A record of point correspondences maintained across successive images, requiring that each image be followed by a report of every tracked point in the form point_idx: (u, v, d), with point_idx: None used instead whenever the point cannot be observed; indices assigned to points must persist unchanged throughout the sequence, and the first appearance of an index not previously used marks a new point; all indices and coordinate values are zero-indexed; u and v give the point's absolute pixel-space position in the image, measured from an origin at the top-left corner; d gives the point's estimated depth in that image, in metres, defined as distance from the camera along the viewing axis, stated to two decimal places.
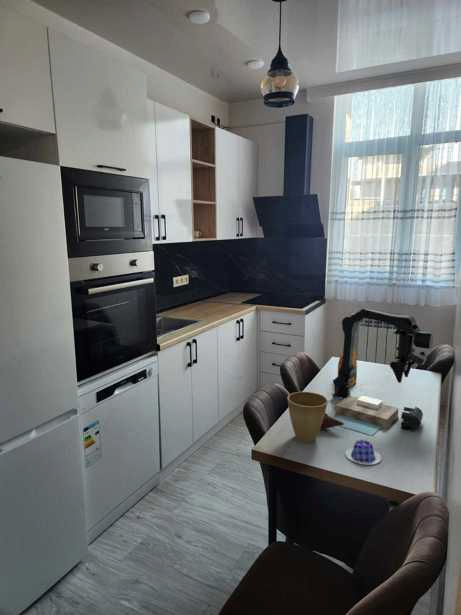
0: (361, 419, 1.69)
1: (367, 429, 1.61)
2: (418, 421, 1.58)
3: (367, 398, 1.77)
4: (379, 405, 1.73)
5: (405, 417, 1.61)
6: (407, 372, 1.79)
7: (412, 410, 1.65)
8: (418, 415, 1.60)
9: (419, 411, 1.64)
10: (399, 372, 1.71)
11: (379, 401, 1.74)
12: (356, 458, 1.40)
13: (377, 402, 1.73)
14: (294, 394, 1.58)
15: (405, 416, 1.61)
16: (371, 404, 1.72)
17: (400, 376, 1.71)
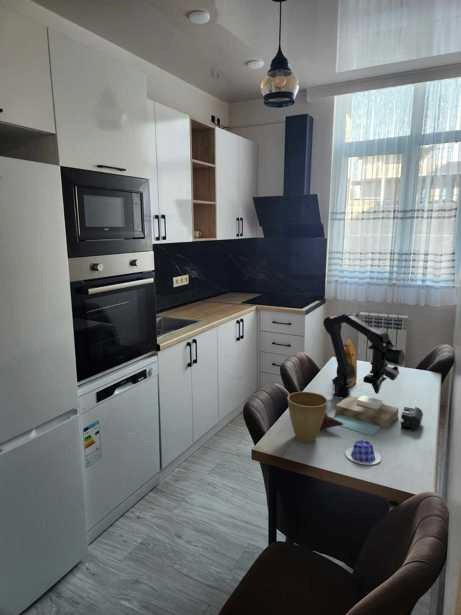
0: (361, 419, 1.69)
1: (367, 429, 1.61)
2: (418, 421, 1.58)
3: (367, 398, 1.77)
4: (379, 405, 1.73)
5: (405, 417, 1.61)
6: None
7: (412, 410, 1.65)
8: (418, 415, 1.60)
9: (419, 411, 1.64)
10: None
11: (379, 401, 1.74)
12: (356, 458, 1.40)
13: (377, 402, 1.73)
14: (294, 394, 1.58)
15: (405, 416, 1.61)
16: (371, 404, 1.72)
17: (377, 387, 1.80)
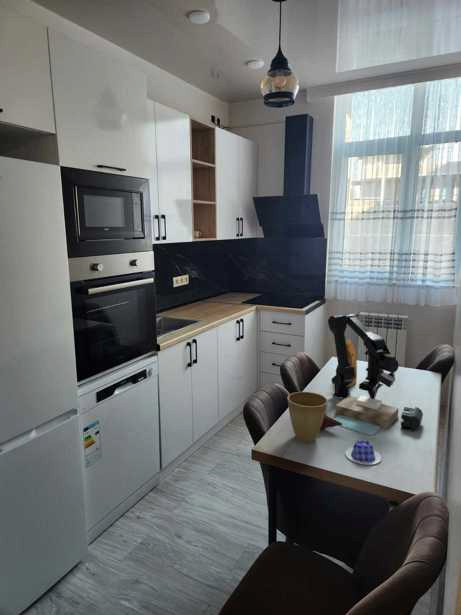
0: (361, 419, 1.69)
1: (367, 429, 1.61)
2: (418, 421, 1.58)
3: (367, 398, 1.77)
4: (379, 405, 1.72)
5: (405, 417, 1.61)
6: None
7: (412, 410, 1.65)
8: (418, 415, 1.60)
9: (419, 411, 1.64)
10: None
11: (379, 401, 1.74)
12: (355, 458, 1.40)
13: (377, 402, 1.73)
14: (294, 394, 1.58)
15: (405, 416, 1.61)
16: (370, 404, 1.72)
17: (373, 394, 1.77)
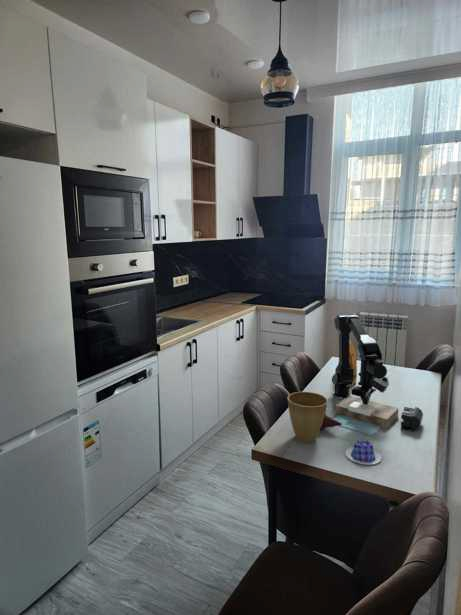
0: (361, 419, 1.69)
1: (367, 429, 1.61)
2: (418, 421, 1.58)
3: (359, 404, 1.71)
4: (371, 412, 1.66)
5: (405, 417, 1.61)
6: None
7: (412, 410, 1.65)
8: (418, 415, 1.60)
9: (419, 411, 1.64)
10: None
11: (371, 407, 1.68)
12: (355, 458, 1.40)
13: (370, 408, 1.67)
14: (294, 394, 1.58)
15: (405, 416, 1.61)
16: (363, 410, 1.66)
17: (366, 400, 1.70)
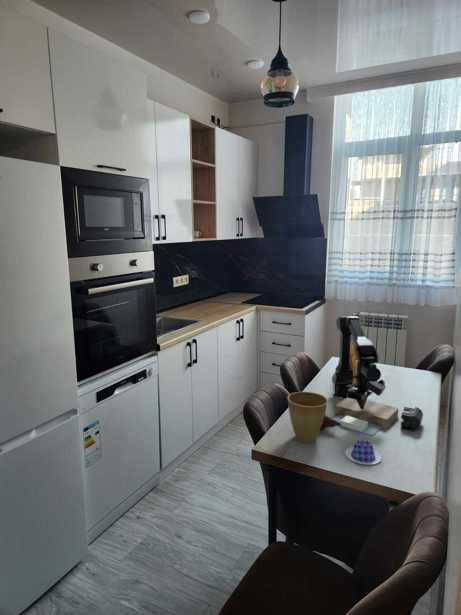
0: (361, 419, 1.69)
1: (367, 429, 1.61)
2: (418, 421, 1.58)
3: None
4: (365, 425, 1.62)
5: (405, 417, 1.61)
6: None
7: (412, 410, 1.65)
8: (418, 415, 1.60)
9: (419, 411, 1.64)
10: None
11: None
12: (355, 457, 1.40)
13: None
14: (294, 394, 1.58)
15: (405, 416, 1.61)
16: None
17: (362, 403, 1.68)
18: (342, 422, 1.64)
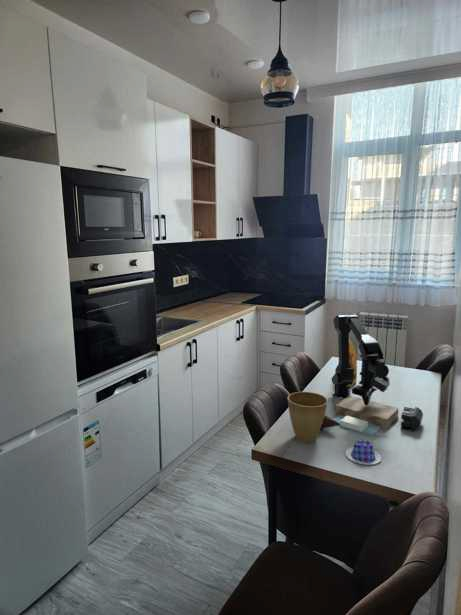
0: (361, 419, 1.69)
1: (367, 429, 1.61)
2: (418, 421, 1.58)
3: None
4: (365, 425, 1.62)
5: (405, 417, 1.61)
6: None
7: (412, 410, 1.65)
8: (418, 415, 1.60)
9: (419, 411, 1.64)
10: None
11: None
12: (355, 457, 1.40)
13: None
14: (294, 394, 1.58)
15: (405, 416, 1.61)
16: None
17: (367, 399, 1.72)
18: (342, 422, 1.64)
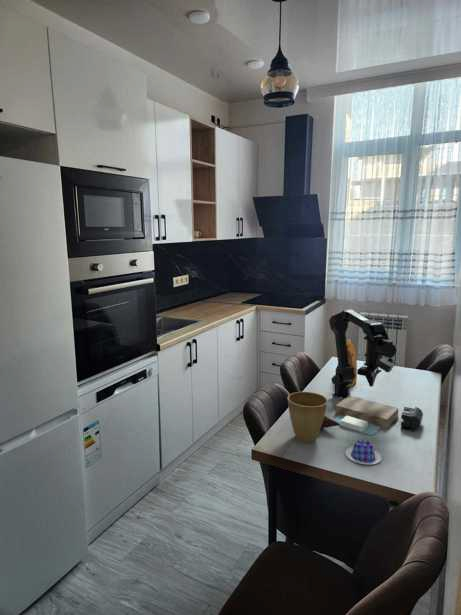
0: (361, 419, 1.69)
1: (367, 429, 1.61)
2: (418, 421, 1.58)
3: None
4: (365, 425, 1.62)
5: (405, 417, 1.61)
6: None
7: (412, 410, 1.65)
8: (418, 415, 1.60)
9: (419, 411, 1.64)
10: (370, 376, 1.74)
11: None
12: (355, 457, 1.40)
13: None
14: (294, 394, 1.58)
15: (405, 416, 1.61)
16: None
17: (371, 380, 1.74)
18: (342, 422, 1.64)
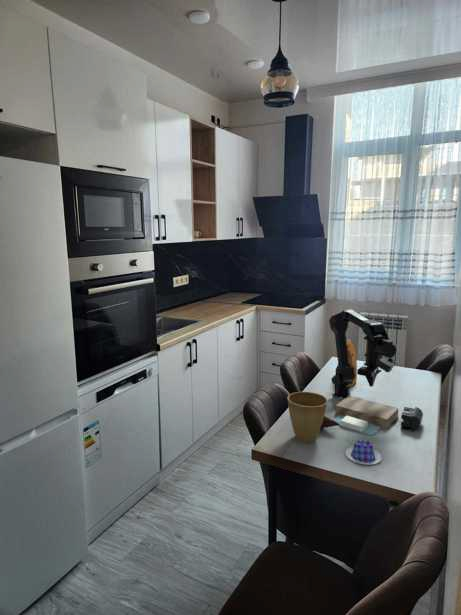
0: (361, 419, 1.69)
1: (367, 429, 1.61)
2: (418, 421, 1.58)
3: None
4: (365, 425, 1.62)
5: (405, 417, 1.61)
6: None
7: (412, 410, 1.65)
8: (418, 415, 1.60)
9: (419, 411, 1.64)
10: (370, 376, 1.74)
11: None
12: (355, 457, 1.40)
13: None
14: (294, 394, 1.58)
15: (405, 416, 1.61)
16: None
17: (371, 380, 1.74)
18: (342, 422, 1.64)
